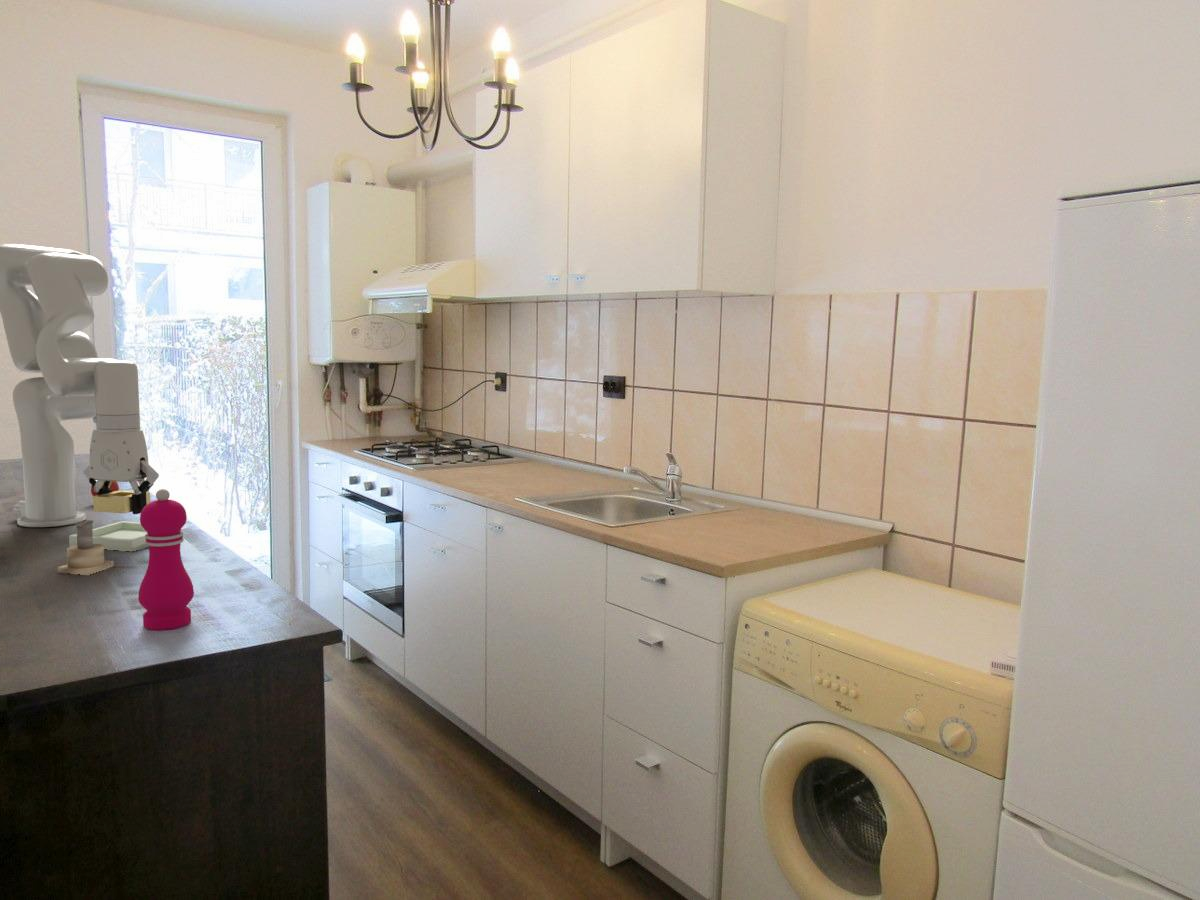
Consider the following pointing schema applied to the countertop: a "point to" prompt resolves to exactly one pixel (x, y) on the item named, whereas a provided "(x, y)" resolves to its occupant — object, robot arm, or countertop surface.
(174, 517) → the pepper mill
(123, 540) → the tray
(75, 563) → the beige post on base
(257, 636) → the countertop surface
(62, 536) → the countertop surface
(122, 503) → the ring
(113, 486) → the onion
